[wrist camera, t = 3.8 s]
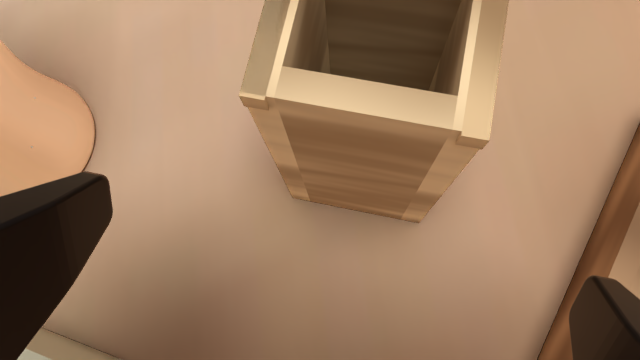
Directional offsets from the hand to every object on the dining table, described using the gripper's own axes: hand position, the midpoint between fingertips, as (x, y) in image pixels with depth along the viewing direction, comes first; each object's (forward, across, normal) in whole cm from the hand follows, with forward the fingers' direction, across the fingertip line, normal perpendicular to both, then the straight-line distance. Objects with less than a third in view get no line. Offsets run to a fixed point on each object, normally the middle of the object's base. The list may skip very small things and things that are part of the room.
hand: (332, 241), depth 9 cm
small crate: (+13, 0, +4) cm, 13 cm away
